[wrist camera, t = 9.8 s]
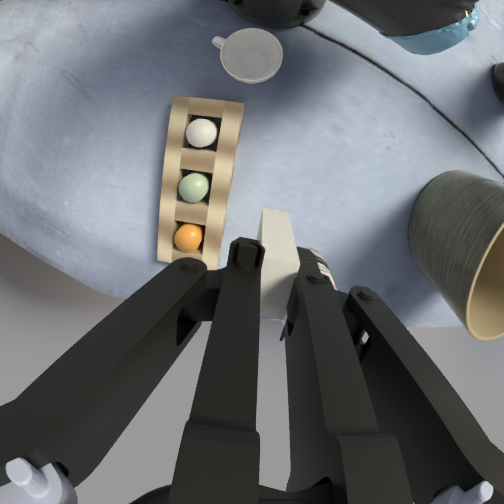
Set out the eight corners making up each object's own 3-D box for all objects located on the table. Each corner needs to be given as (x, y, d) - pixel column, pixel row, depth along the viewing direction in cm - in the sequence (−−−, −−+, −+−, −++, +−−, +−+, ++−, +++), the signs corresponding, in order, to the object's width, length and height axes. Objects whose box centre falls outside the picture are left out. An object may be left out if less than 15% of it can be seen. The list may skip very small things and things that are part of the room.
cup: (262, 97, 36) (262, 91, 30) (204, 67, 34) (193, 57, 28) (290, 57, 33) (294, 45, 27) (231, 28, 31) (225, 12, 25)
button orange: (181, 218, 44) (175, 225, 41) (205, 222, 44) (200, 230, 41) (179, 241, 46) (173, 249, 43) (202, 245, 46) (198, 254, 43)
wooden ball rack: (179, 97, 36) (173, 95, 34) (245, 105, 37) (243, 103, 34) (163, 252, 47) (157, 260, 45) (218, 263, 48) (216, 271, 45)
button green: (186, 169, 41) (180, 173, 38) (212, 173, 41) (207, 177, 38) (183, 194, 42) (177, 200, 39) (208, 198, 43) (204, 204, 39)
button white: (194, 118, 37) (188, 117, 34) (220, 121, 38) (216, 120, 34) (190, 143, 39) (184, 145, 36) (216, 147, 39) (212, 149, 36)
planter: (426, 296, 49) (473, 363, 31) (385, 210, 42) (451, 267, 24) (497, 237, 43) (556, 283, 24) (470, 145, 36) (550, 169, 18)
